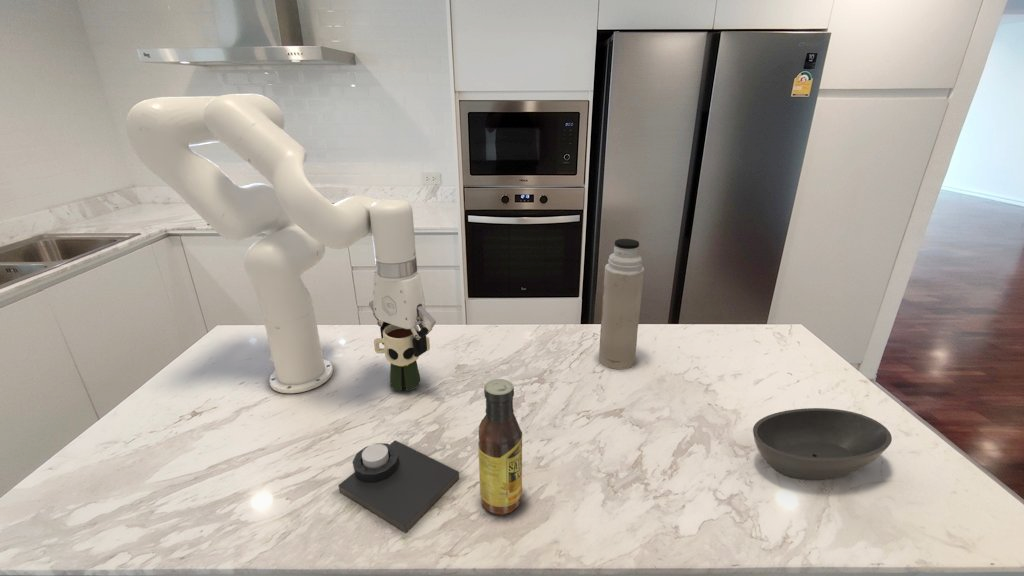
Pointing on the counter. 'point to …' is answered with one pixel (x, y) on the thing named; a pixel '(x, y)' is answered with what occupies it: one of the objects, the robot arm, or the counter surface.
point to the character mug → (400, 356)
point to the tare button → (375, 456)
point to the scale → (399, 485)
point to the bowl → (819, 442)
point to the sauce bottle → (500, 450)
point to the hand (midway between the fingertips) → (404, 347)
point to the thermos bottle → (621, 305)
